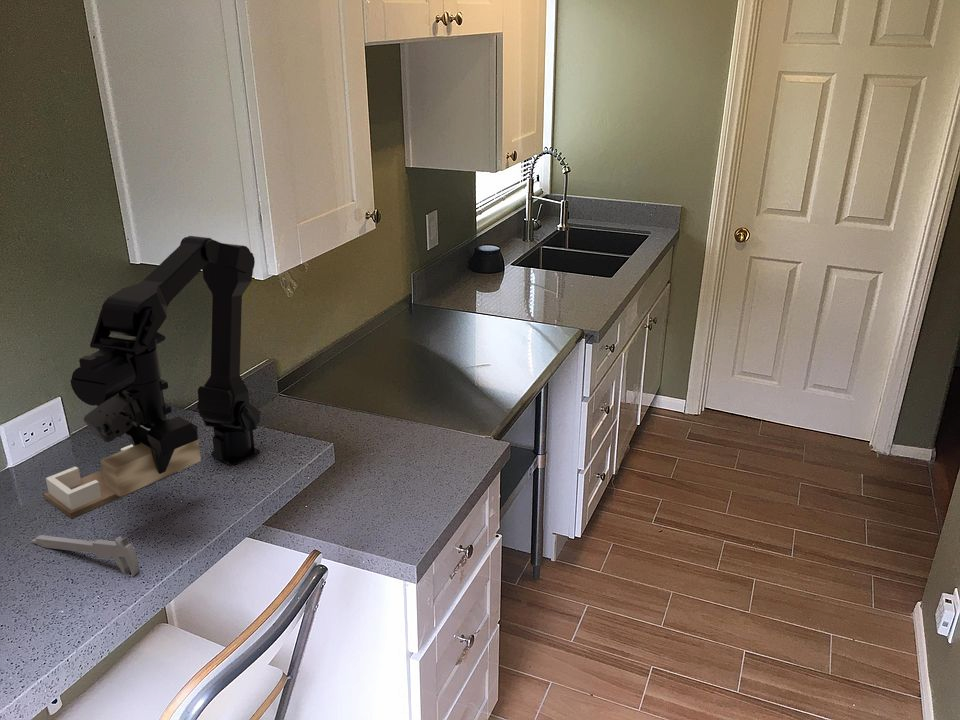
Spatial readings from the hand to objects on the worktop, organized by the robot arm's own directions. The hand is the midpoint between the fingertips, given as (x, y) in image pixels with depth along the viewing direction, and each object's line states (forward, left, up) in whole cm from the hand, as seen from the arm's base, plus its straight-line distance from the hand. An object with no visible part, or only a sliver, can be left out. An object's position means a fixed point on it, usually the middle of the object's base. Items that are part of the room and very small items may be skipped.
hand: (154, 467), depth 123 cm
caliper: (+13, +1, -10) cm, 16 cm away
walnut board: (0, -15, -9) cm, 18 cm away
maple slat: (0, 0, -1) cm, 1 cm away
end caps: (0, -15, -9) cm, 18 cm away
